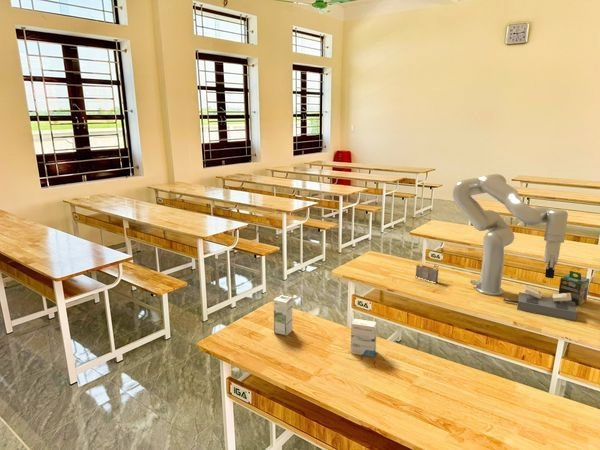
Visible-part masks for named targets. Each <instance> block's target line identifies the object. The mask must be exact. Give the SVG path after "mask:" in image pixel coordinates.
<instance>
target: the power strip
mask: <svg viewBox="0 0 600 450" xmlns="http://www.w3.org/2000/svg"><path fill="white" fill-rule="evenodd" d="M503 301H504V302H508V303H513V304H517V306H516V310H518V311H523V312H527V313H534V314H539V315H543V316H548V317H553V318H558V319H564V320H568V321H574V322H576V319H577V313H578V311H577V306H576V305H575V302H571V301H553V297H549V296H544V295H542V296H541V298H537V297H535V296H533V295H530V294H528V293H526V292H521V291H519V292H518V300H514V299H510V298H505V297H504V298H503Z"/></svg>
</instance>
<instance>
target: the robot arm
mask: <svg viewBox="0 0 600 450" xmlns="http://www.w3.org/2000/svg"><path fill="white" fill-rule="evenodd" d="M481 194H487V195H489V196H491V197H492V198H493V199H495V200H496V201H498V202H499V203H501V204H503V205H504V207H505V208H506V209H507V211H508V212H509V213H510V214H511V215H512V216H514V217H515V218H516V219H518V220H519V221H520V222H522V223H523V224H526V225H528V226H530V227H531V226H533V227H535V226H537V225H541V224H545V227H544V228H545V229H544V239H543V240H544V242H546V243H545V249H544V256H543V264H546V268H545V275H544V277H545V278H546V279H554V277H555V272H556V271H555V266H556V265H558V262H559V257H560V252H561V251H560V250H561V245H562V244H563V243H565V238H566V232H567V224H568V217H569V216H568V214H569V213H568V211H566V210H564V209H559V208H557V209H556V208H549V207H545V206H536V207H532V206H530V205H528V204H527V203H525V202H524V201H523V200H522V199H521V198H520V196H519V191H518V190H517V188H514V187H513V186H511V185H510V184H508V183H507V180H506V177H505V176H504V175H501V174H499V173H494V174H488V175H485V176H480V177H474V178H467V179H462V180H460V181H458V182H457V183H456V184H455V185H454V187H453V190H452V197H453V202H455V204H456V206H457V207H458V208H459V209H460V210H461V211H462V213H463V214H464V216H465V217H466V218H467V220H468V221H469V222H470V223H471V224H472V226H473V227H474V228H475V230H476V231H479V232H484V231H488V232H487V233H485V235H484V236H483V239H482V240H483V241H482V248H483V253H482V261H481V263H482V265H481V270H480V271H481V272H480V278H479V279H478V280H475V279H470V284H472V285H473V286H475V291H477V292H478V293H480V294H483V295H487V296H497V297H498V296H501V295H503V294H504V289H503V288H501V287H502V279H503V273H504V265H505V247H507V246H509V245H512V243H513V242H514V240H515V233H514V231H513V230H512V228H511V227H510V226H509V225H508V224H507V222H506V221H505V220H504V218H503V217H502V216H501V215H500V214H499V213H498V212H496V211H494V210H492V209H491V210H490V209H488V210H487V209H486V210H485V209H484V208H483V207H482V206H481V204H480V203H479V202H478V201H477V200H476V199H475V198H473V196H475V195H481Z"/></svg>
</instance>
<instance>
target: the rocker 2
mask: <svg viewBox="0 0 600 450" xmlns="http://www.w3.org/2000/svg"><path fill="white" fill-rule="evenodd" d="M552 298H553V301H568V300H571V294H570V293H562V294H558V293H552Z"/></svg>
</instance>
